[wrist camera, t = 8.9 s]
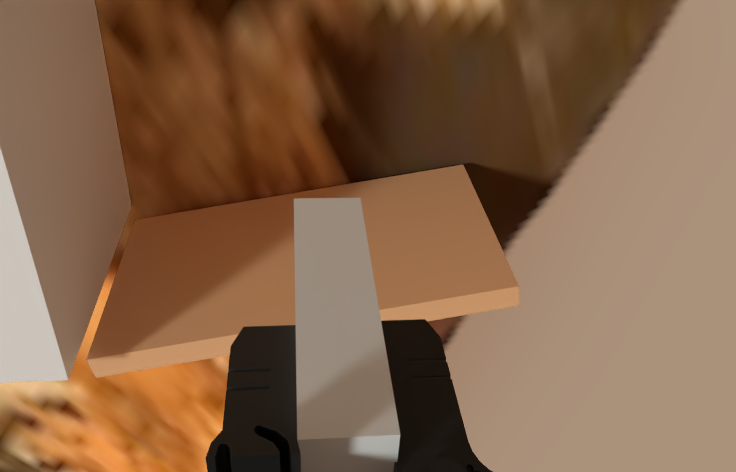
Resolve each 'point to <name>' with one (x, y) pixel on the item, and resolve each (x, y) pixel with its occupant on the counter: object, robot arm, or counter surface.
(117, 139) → the block
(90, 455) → the counter surface
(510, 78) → the counter surface
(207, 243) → the side door
